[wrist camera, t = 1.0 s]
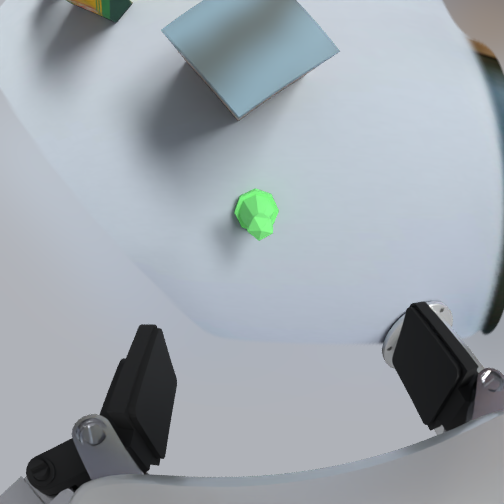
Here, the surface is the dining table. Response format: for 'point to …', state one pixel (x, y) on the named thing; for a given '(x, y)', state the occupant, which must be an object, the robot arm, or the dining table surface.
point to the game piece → (257, 213)
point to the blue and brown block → (249, 48)
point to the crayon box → (104, 7)
